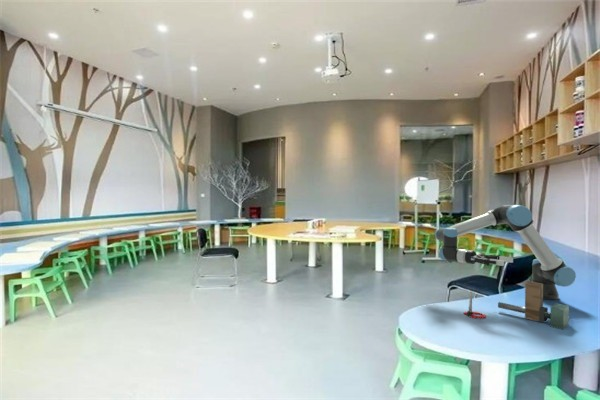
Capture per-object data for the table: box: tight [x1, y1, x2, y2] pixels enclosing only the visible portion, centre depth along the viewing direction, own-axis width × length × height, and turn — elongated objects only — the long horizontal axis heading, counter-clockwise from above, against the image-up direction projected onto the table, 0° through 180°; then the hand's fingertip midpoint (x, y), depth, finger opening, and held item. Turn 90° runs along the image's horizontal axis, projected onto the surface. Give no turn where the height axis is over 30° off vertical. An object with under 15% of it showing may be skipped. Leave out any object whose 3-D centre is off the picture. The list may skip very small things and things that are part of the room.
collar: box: [538, 306, 549, 323], centre depth 169 cm, size 6×2×6 cm, turn 131°
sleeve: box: [524, 281, 544, 322], centre depth 172 cm, size 6×6×18 cm
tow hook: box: [463, 290, 487, 320], centre depth 177 cm, size 8×13×9 cm
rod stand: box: [497, 301, 570, 330], centre depth 173 cm, size 10×29×9 cm, turn 41°
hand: (508, 261), depth 180 cm, fingers open, 13 cm apart
